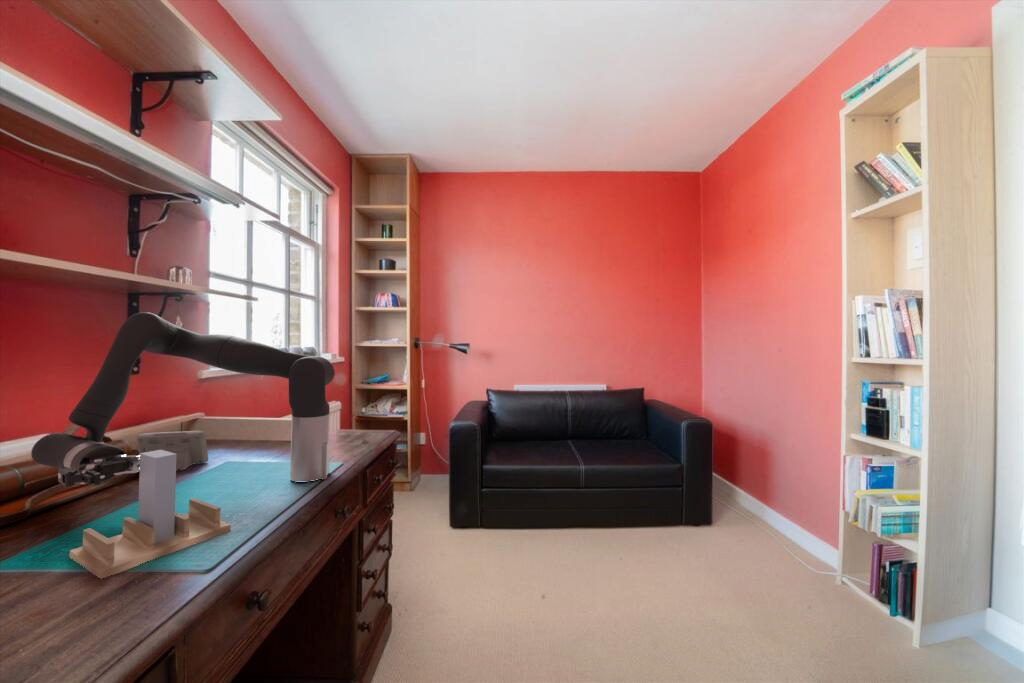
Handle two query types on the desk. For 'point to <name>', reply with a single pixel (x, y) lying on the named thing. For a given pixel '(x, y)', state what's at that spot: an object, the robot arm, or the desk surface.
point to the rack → (147, 540)
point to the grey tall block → (157, 492)
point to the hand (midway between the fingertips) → (128, 473)
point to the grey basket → (176, 446)
